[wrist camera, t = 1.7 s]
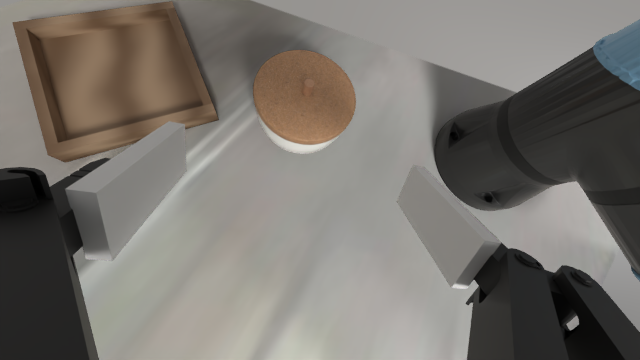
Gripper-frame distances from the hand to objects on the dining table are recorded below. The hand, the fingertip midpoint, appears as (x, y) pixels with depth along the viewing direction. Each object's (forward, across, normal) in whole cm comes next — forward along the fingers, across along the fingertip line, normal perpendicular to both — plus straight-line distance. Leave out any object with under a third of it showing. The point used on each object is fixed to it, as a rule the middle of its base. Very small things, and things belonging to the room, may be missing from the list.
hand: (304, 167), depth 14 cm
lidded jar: (+19, 0, -4) cm, 20 cm away
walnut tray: (+21, -20, -2) cm, 29 cm away
